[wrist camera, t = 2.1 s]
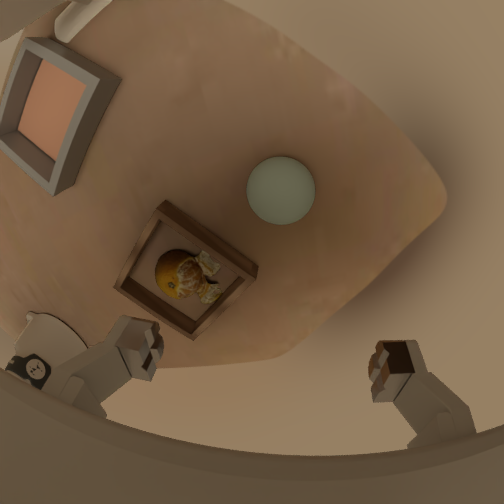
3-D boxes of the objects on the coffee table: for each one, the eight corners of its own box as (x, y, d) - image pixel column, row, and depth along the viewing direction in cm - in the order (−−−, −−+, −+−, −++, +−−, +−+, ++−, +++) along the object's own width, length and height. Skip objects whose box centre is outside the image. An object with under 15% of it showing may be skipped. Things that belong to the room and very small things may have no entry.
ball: (285, 220, 30) (284, 249, 25) (238, 184, 28) (226, 206, 23) (325, 178, 27) (334, 199, 22) (276, 138, 26) (273, 149, 20)
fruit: (223, 302, 37) (217, 321, 33) (161, 290, 37) (151, 308, 34) (227, 245, 32) (220, 262, 29) (157, 234, 33) (144, 250, 30)
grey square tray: (73, 184, 30) (53, 196, 27) (12, 133, 27) (-8, 140, 24) (121, 79, 24) (100, 79, 20) (47, 37, 20) (25, 37, 17)
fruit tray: (197, 327, 39) (193, 340, 37) (121, 276, 36) (113, 287, 34) (258, 266, 33) (256, 279, 31) (165, 199, 30) (156, 208, 28)
